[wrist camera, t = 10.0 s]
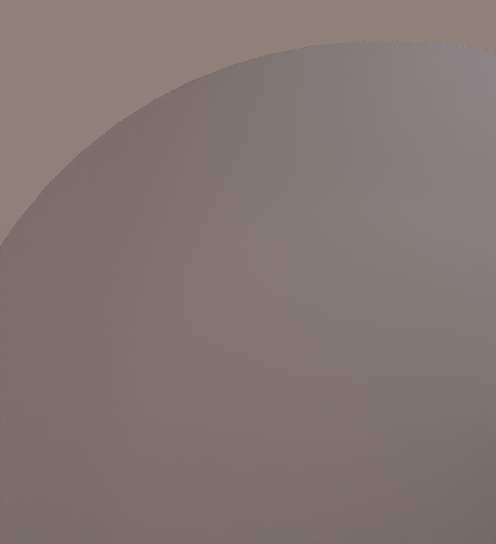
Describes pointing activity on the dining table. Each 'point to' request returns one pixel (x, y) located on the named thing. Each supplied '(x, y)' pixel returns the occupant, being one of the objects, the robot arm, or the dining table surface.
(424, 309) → the mushroom-shaped plug
